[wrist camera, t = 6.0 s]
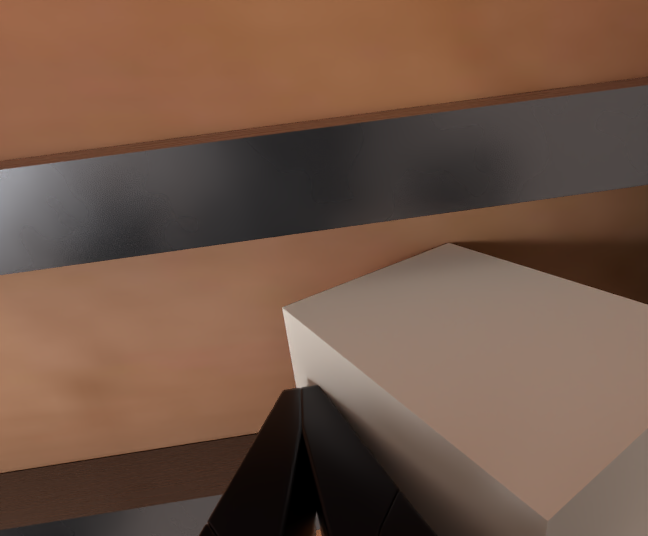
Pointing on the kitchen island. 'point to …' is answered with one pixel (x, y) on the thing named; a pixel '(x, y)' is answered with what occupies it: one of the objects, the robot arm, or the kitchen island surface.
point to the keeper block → (488, 392)
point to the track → (278, 220)
